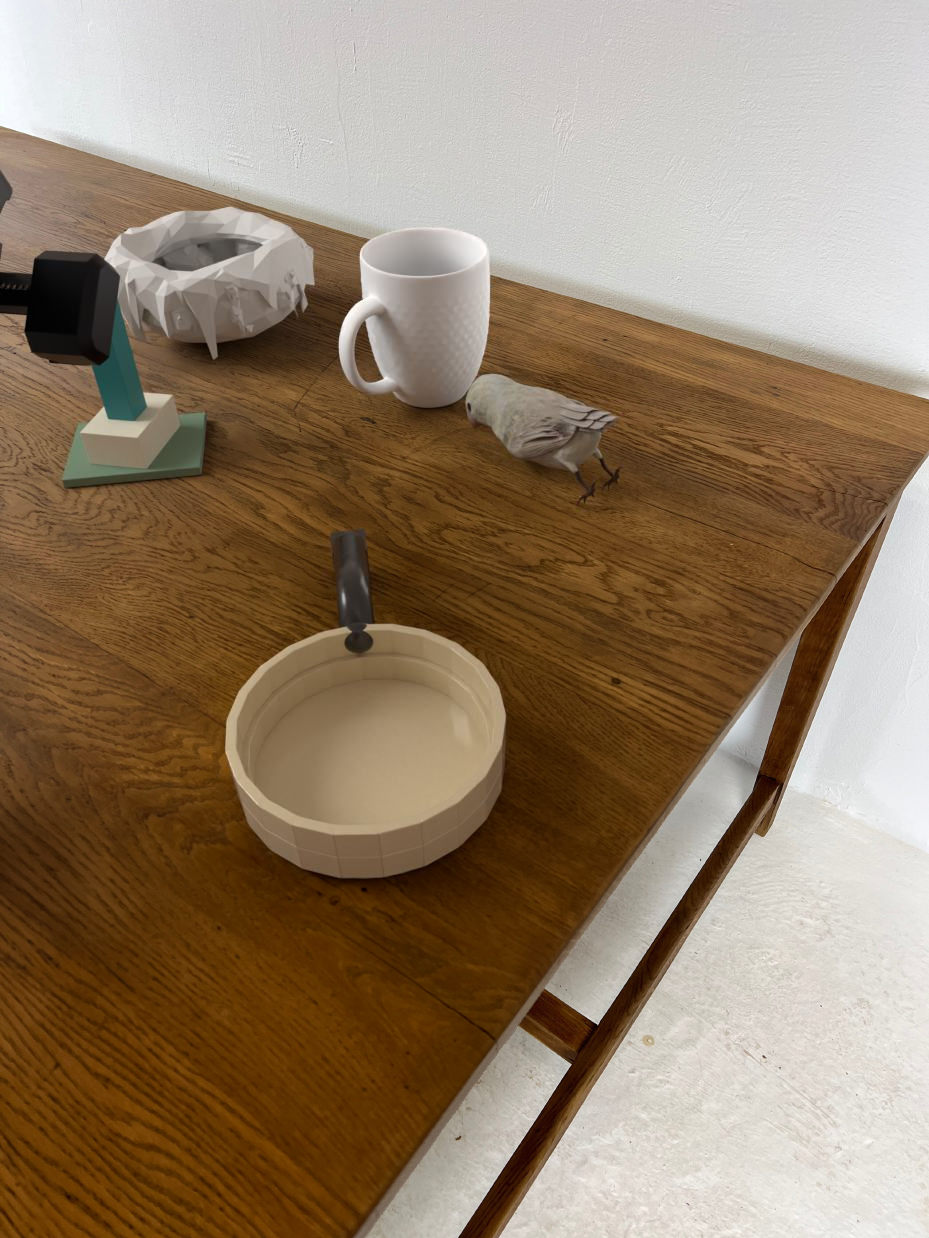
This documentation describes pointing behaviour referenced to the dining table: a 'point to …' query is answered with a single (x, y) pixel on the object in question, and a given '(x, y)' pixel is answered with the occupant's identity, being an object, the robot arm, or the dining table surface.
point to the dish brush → (127, 411)
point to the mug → (421, 314)
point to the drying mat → (171, 462)
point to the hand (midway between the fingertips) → (44, 347)
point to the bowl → (210, 275)
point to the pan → (367, 751)
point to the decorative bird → (540, 424)
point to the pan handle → (353, 587)
